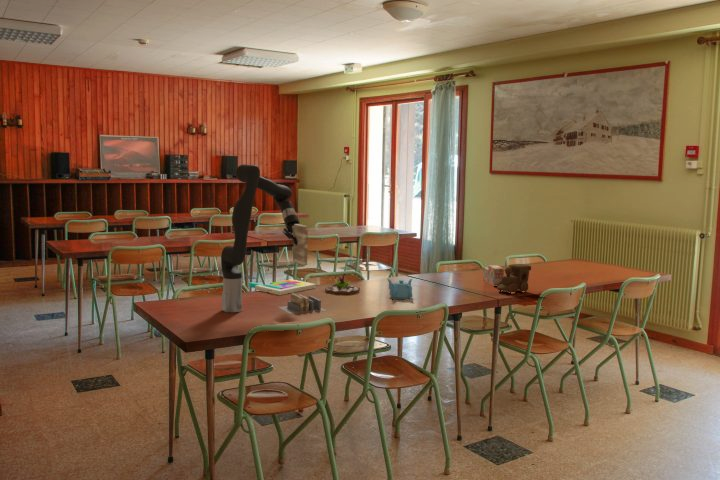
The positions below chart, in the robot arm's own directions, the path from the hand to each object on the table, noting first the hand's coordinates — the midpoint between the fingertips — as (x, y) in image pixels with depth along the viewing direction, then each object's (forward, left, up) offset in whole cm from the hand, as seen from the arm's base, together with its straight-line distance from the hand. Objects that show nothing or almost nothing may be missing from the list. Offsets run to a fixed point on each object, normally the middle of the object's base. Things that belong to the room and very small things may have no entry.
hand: (299, 244), depth 341 cm
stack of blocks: (+144, +13, -34) cm, 149 cm away
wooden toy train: (+138, -13, -34) cm, 143 cm away
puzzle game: (+11, +51, -35) cm, 63 cm away
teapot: (+64, +1, -34) cm, 73 cm away
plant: (+41, +28, -34) cm, 60 cm away
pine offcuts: (-3, -9, -32) cm, 34 cm away
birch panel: (0, -1, -10) cm, 10 cm away
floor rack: (-2, -9, -34) cm, 35 cm away
